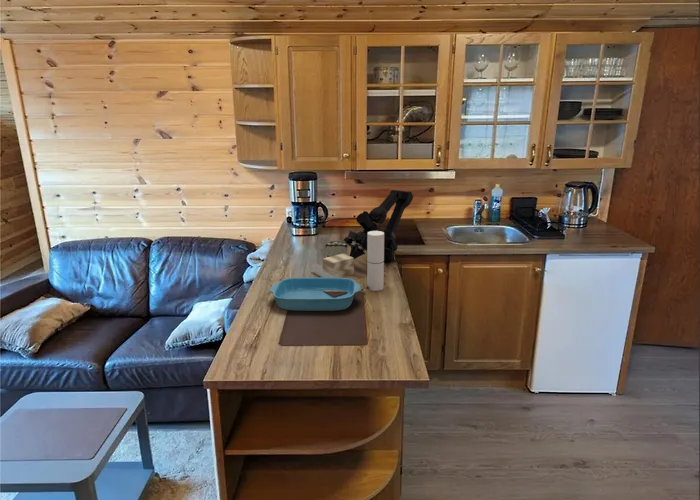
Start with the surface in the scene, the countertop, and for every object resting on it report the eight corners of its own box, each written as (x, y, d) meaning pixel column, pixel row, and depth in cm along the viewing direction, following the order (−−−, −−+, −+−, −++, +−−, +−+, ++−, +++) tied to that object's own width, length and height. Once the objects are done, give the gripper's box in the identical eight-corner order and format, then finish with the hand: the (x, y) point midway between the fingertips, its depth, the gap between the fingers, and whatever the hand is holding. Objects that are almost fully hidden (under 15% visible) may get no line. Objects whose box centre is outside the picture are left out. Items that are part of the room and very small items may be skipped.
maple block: (344, 269, 225) (343, 253, 222) (353, 274, 219) (353, 257, 216) (323, 274, 218) (322, 258, 216) (332, 279, 212) (332, 263, 210)
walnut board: (360, 262, 238) (360, 260, 237) (385, 274, 222) (385, 271, 222) (310, 275, 222) (310, 272, 221) (334, 288, 206) (334, 285, 206)
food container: (350, 258, 244) (349, 240, 241) (348, 262, 238) (348, 243, 235) (326, 258, 245) (326, 239, 242) (324, 262, 239) (324, 243, 236)
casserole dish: (265, 314, 183) (264, 297, 181) (276, 291, 205) (275, 276, 202) (359, 315, 182) (359, 298, 179) (361, 292, 203) (361, 276, 201)
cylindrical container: (364, 289, 205) (364, 234, 197) (371, 283, 211) (371, 230, 203) (379, 291, 202) (380, 236, 194) (386, 286, 208) (386, 232, 200)
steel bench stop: (316, 271, 223) (315, 263, 222) (340, 283, 207) (339, 275, 206) (311, 272, 221) (311, 264, 220) (335, 285, 206) (335, 276, 205)
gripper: (346, 220, 225) (327, 246, 222) (370, 228, 210) (351, 256, 208) (359, 233, 232) (341, 258, 229) (383, 241, 217) (365, 269, 215)
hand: (349, 260), depth 220 cm, fingers closed, pressing on maple block
